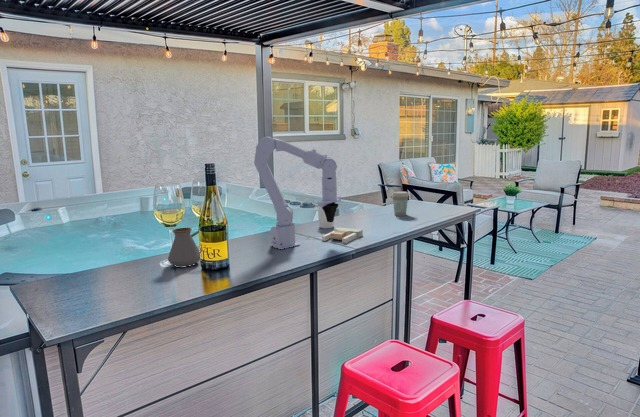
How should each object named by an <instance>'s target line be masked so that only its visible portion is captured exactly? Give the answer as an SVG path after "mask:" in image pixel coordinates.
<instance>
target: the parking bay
mask: <svg viewBox="0 0 640 417" xmlns="http://www.w3.org/2000/svg"><path fill="white" fill-rule="evenodd" d="M337 230H348V231H349V235H348V236H346V237H344V238H342V241H341V243H342V244H345V243H346V244H347V243H350V242H351V241H353V240H355V239H357V238H358V239H359V238H361V237H362V236H363V229H359V228H357V229H356V228H348V227H335V228H334V229H333V230H332V231H330V232H328V233H326V234H324V235H322V236H321V237H322V238H321V240H322V242H326V241H329V240H330V239H331V233H332V232H334V231H337ZM331 240H332V239H331Z"/></svg>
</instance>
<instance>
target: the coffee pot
mask: <svg viewBox="0 0 640 417" xmlns="http://www.w3.org/2000/svg"><path fill="white" fill-rule="evenodd" d="M192 230H193V229H192V228H191V227H179V228H174V229H173V230H172V232H173V233H174V239H173V242H172V246H171V248H170V251H169V254H168V257H167V261H168V262H169V264H170V265H172V264H173V265H172V266H174V265H176V266H189V265H193V264H195V263H197V264H198V263H199V261H200V260H201V259H200V253H201V251H200V249H199V247H198V245H197V244H196V243H195V240H194V239H193V237H194V236H195V237H196V235H198V234H200V233H199V230H196V232H193V233H192V234H191V232H192ZM199 251H200V252H199Z"/></svg>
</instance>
